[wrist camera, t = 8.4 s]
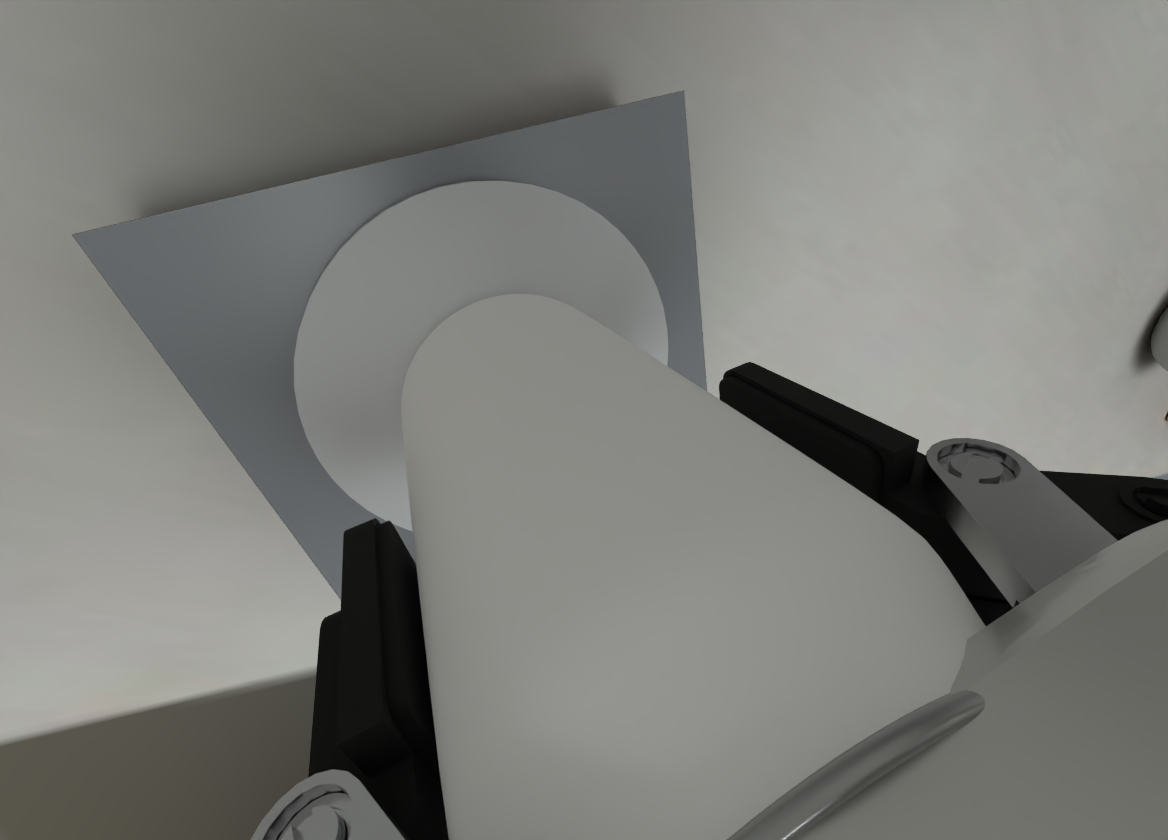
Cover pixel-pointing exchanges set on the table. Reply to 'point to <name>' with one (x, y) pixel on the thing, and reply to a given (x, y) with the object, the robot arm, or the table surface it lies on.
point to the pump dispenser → (1161, 340)
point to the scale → (403, 292)
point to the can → (653, 598)
